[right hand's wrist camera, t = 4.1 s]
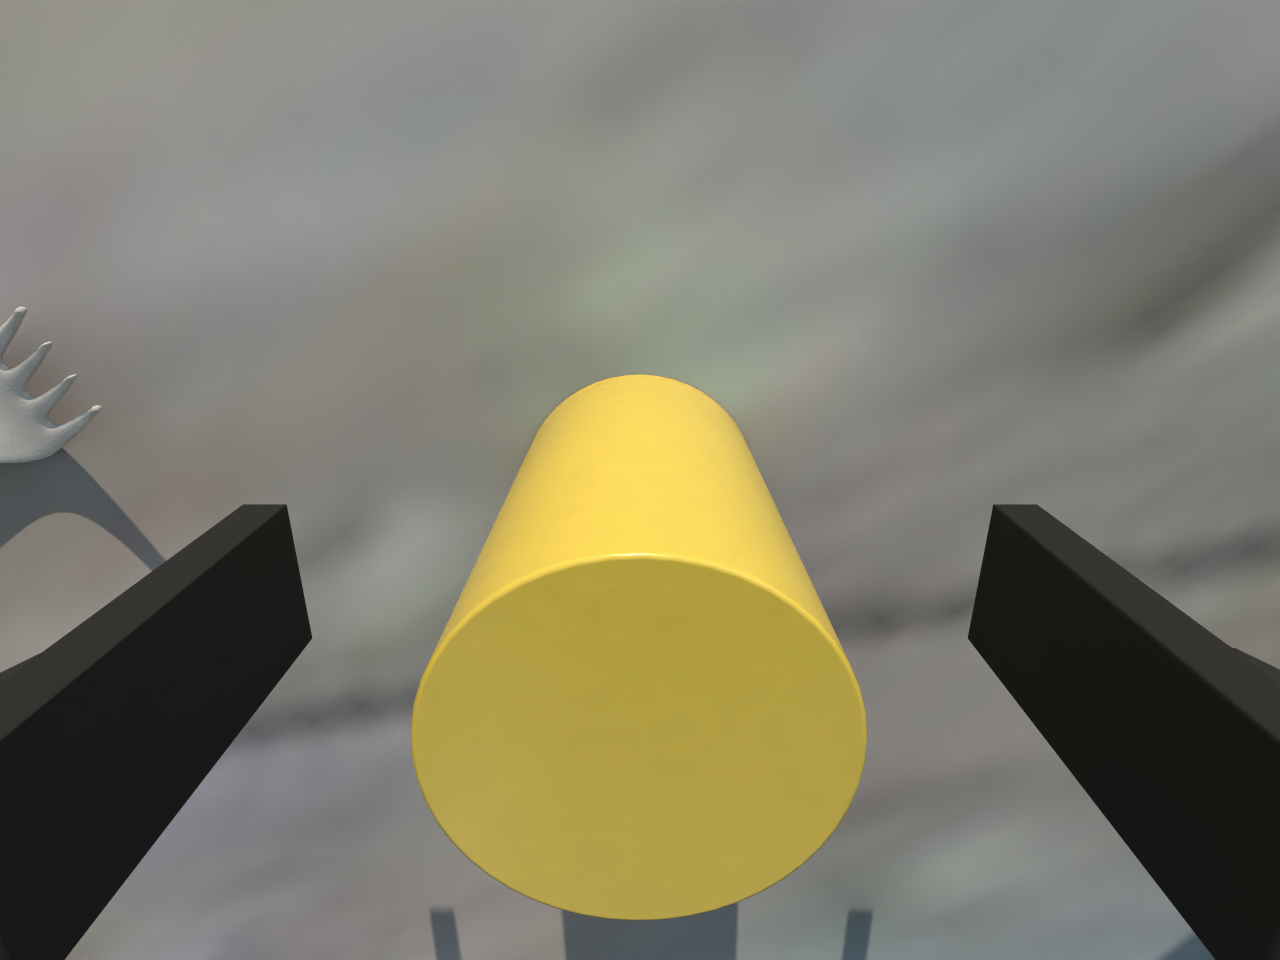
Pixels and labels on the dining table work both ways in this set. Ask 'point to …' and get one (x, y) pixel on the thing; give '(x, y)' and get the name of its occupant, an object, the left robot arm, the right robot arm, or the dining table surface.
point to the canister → (638, 672)
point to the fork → (31, 406)
